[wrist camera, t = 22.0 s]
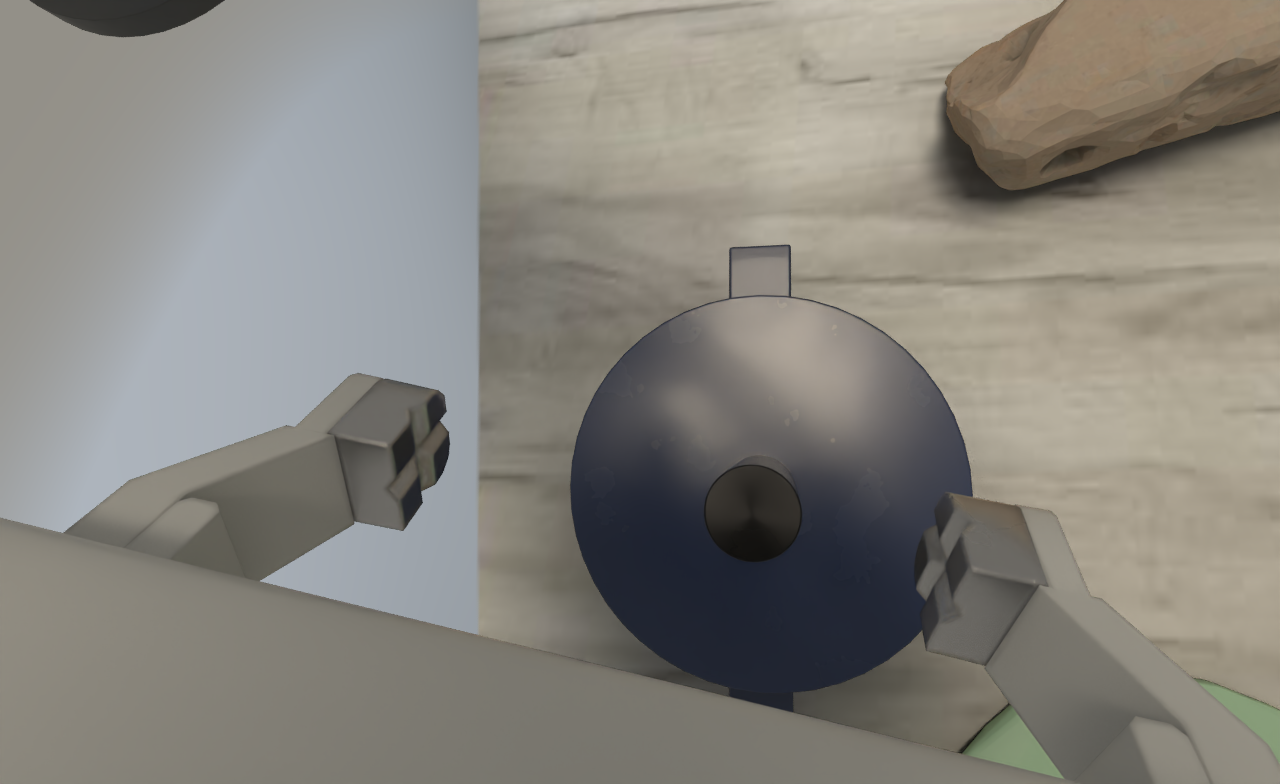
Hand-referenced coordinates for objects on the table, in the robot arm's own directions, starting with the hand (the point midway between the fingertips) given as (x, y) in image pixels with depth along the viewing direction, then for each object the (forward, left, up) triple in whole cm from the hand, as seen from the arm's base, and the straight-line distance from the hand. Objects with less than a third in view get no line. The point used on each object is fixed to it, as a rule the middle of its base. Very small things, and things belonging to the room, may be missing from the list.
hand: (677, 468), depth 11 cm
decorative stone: (+19, +17, -26) cm, 36 cm away
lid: (+1, -2, -15) cm, 15 cm away
